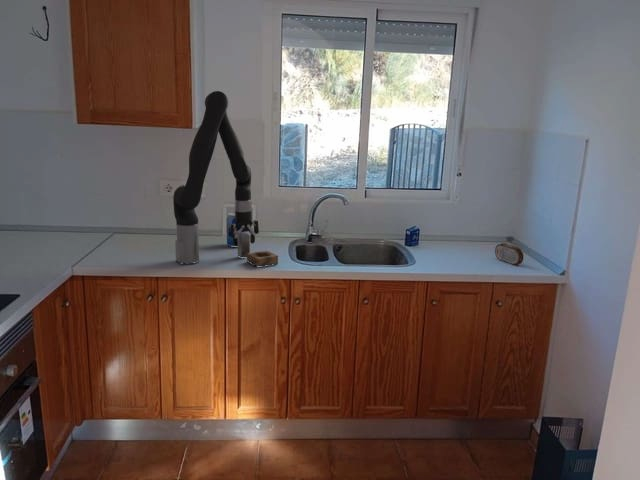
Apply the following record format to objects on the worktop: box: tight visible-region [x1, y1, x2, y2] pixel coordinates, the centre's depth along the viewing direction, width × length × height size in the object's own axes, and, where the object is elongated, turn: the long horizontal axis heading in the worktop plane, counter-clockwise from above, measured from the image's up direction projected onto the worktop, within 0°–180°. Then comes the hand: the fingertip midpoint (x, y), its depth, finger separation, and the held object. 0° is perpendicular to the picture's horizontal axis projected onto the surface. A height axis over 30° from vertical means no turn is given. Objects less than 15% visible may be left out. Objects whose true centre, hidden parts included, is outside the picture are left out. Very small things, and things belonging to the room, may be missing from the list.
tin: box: [494, 242, 524, 266], centre depth 251 cm, size 15×3×8 cm, turn 30°
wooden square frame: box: [246, 250, 279, 266], centre depth 238 cm, size 10×10×4 cm
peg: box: [237, 232, 251, 257], centre depth 245 cm, size 4×4×11 cm
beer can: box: [226, 212, 245, 247], centre depth 263 cm, size 8×8×16 cm
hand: (244, 244), depth 245 cm, fingers open, 8 cm apart
